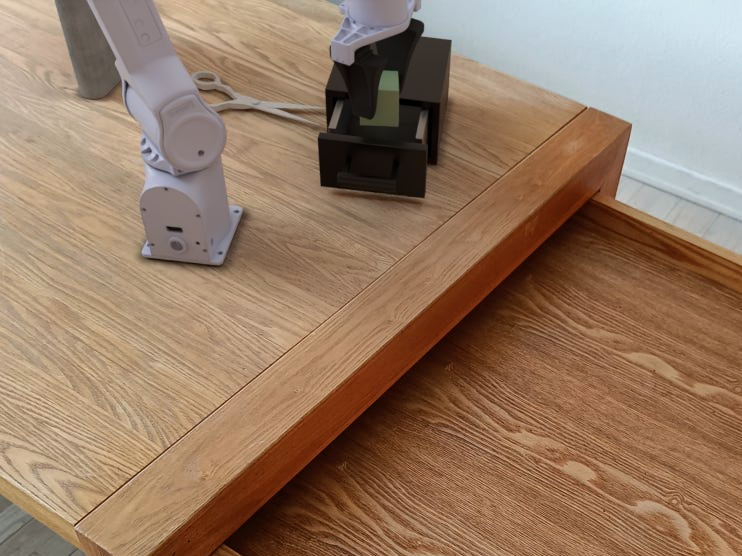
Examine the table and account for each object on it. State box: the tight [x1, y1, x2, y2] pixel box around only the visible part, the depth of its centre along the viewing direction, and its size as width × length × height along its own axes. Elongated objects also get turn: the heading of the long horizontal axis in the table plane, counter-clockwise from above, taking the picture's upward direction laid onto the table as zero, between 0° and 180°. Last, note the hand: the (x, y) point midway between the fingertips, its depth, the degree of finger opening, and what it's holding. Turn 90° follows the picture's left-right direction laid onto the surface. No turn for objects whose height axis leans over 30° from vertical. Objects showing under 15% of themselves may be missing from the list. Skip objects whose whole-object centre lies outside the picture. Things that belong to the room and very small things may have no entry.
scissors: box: [190, 70, 326, 127], centre depth 105 cm, size 11×1×20 cm
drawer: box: [317, 98, 432, 199], centre depth 97 cm, size 18×11×6 cm, turn 176°
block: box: [360, 71, 399, 127], centre depth 93 cm, size 4×4×4 cm
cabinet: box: [324, 35, 453, 166], centre depth 103 cm, size 15×13×8 cm
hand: (378, 103), depth 93 cm, fingers closed on block, 5 cm apart
